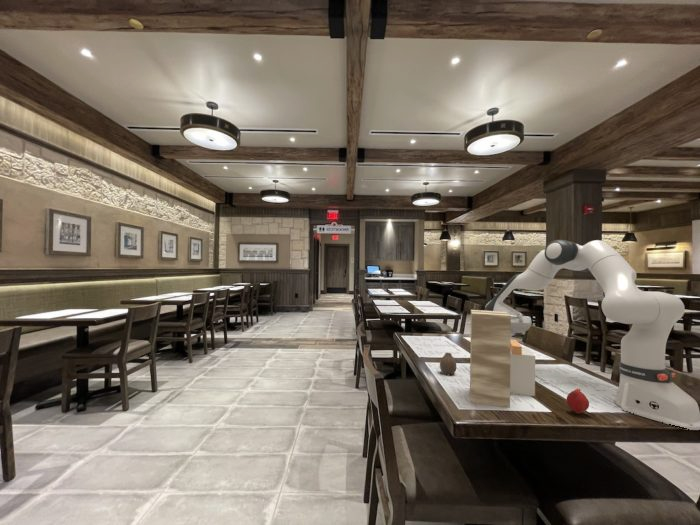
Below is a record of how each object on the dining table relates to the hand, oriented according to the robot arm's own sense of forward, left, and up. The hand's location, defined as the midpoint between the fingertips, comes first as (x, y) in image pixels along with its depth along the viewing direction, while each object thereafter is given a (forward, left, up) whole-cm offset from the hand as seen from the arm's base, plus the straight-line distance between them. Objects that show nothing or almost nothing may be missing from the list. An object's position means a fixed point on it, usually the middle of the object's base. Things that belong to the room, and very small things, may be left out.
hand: (506, 314), depth 137 cm
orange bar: (-8, +6, -12) cm, 16 cm away
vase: (+12, +20, -27) cm, 36 cm away
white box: (-10, +7, -27) cm, 29 cm away
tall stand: (-15, +24, -27) cm, 39 cm away
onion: (-34, +6, -27) cm, 44 cm away
